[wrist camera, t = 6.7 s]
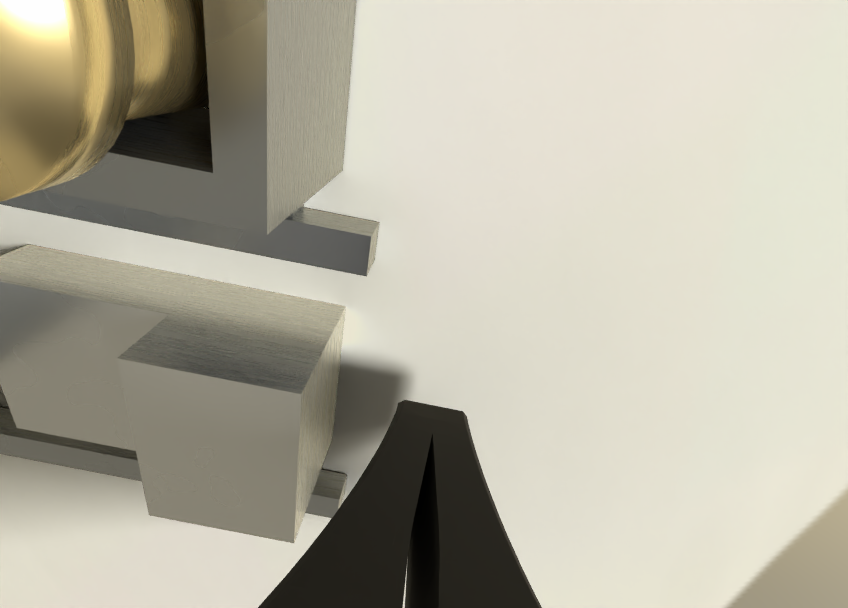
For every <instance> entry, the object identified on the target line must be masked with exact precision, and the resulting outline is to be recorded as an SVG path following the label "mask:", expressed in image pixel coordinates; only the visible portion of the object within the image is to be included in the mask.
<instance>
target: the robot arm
mask: <svg viewBox="0 0 848 608" xmlns="http://www.w3.org/2000/svg"><path fill="white" fill-rule="evenodd" d="M407 558H408V560H407ZM406 568H407V579H406V598H405V608H542V607H541V605H540V603H539V601H538V599H537V597H536V596H535V594H534V592H533V589H532V587H531V585H530V583H529V581H528V579H527V577H526V575H525V573H524V571H523V569H522V567H521V565H520V563H519V560H518V558H517V556H516V554H515V551H514V549H513V547H512V545H511V542H510V540H509V538H508V536H507V533H506V531H505V529H504V526H503V524H502V522H501V519H500V517H499V514H498V512H497V509H496V507H495V504H494V501H493V499H492V496H491V494H490V491H489V488H488V486H487V483H486V480H485V477H484V475H483V472H482V469H481V466H480V463H479V460H478V457H477V454H476V450H475V447H474V444H473V440H472V437H471V433H470V429H469V425H468V420H467V416H466V415H465V414H464V412H463V411H458V410H453V409H448V408H443V407H438V406H433V405H428V404H423V403H418V402H413V401H408V400H404V401H402V402H400V403H398V406H397V410H396V413H395V415H394V418H393V420H392V423H391V425H390V427H389V429H388V431H387V433H386V435H385V437H384V439H383V441H382V442H381V444H380V446H379V448H378V450H377V451H376V453H375V455H374V456H373V458H372V460H371V461H370V463H369V464H368V466H367V468H366V469H365V471H364V473H363V474H362V476H361V477H360V479H359V481H358V482H357V484H356V485H355V487H354V488H353V489H352V491H351V492H350V494H349V495H348V496H347V498H346V499H345V501H344V502H343V503H342V505H341V506H340V508H339V509H338V511H337V512H336V513H335V515H334V516H333V518H332V519H331V520H330V522H329V523H328V524H327V526H326V527H325V528H324V530H323V531H322V532H321V533H320V535H319V536H318V537H317V539H316V540H315V541H314V542H313V544H312V545H311V546H310V548H309V549H308V550H307V551H306V552H305V554H304V555H303V556H302V557H301V559H300V560H299V561H298V562H297V563H296V565H295V566H294V567H293V568H292V569H291V571H290V572H289V573H288V574H287V575H286V577H285V578H284V579H283V580H282V581H281V582H280V583H279V584H278V586H277V587H276V588H275V589H274V590H273V591H272V592H271V594H270V595H269V596H268V597H267V598H266V599H265V600H264V602H263V603H262V604H261V605H260V606H259V607H258V608H402V606H403V596H404V587H405V577H406Z"/></svg>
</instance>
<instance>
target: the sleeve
mask: <svg viewBox="0 0 848 608" xmlns="http://www.w3.org/2000/svg"><path fill="white" fill-rule="evenodd" d="M0 204H2V205H7V206H12V207H17V208H22V209H27V210H32V211H37V212H42V213H48V214H53V215H58V216H63V217H68V218H73V219H78V220H83V221H88V222H93V223H98V224H103V225H108V226H114V227H119V228H124V229H129V230H134V231H139V232H144V233H149V234H154V235H159V236H164V237H169V238H175V239H180V240H185V241H190V242H195V243H200V244H205V245H210V246H215V247H220V248H225V249H230V250H236V251H241V252H246V253H251V254H256V255H261V256H266V257H271V258H276V259H281V260H286V261H291V262H296V263H302V264H307V265H312V266H317V267H322V268H327V269H332V270H337V271H342V272H347V273H352V274H357V275H363V276H367V274H368V272H369V270H370V268H371V266H372V264H373V262H374V260H375V252H376V245H377V237H378V229H379V222H375V221H370V220H365V219H360V218H355V217H350V216H345V215H339V214H334V213H329V212H324V211H319V210H314V209H309V208H304V207H303V208H302V209H301V210H300V211H299V212H298V213H297V214H295V215H294V216H293V217H291V216H289V217H287V218H286V219H285V220H284V221H283V222H282V223H280V224H279V225H278V226H277V227H276V228H275V229H273V230H272V231H271V232H270V233H269V234H268V235H265V234H260V233H255V232H250V231H245V230H240V229H235V228H230V227H225V226H220V225H214V224H209V223H204V222H199V221H194V220H189V219H184V218H179V217H174V216H169V215H164V214H159V213H154V212H148V211H143V210H138V209H133V208H128V207H123V206H118V205H113V204H108V203H103V202H98V201H93V200H88V199H82V198H77V197H72V196H67V195H62V194H57V193H52V192H47V191H42V190H38V191H35V192H31V193H28V194H25V195H21V196H18V197H15V198H11V199H8V200H4V201H1V202H0ZM0 454H5V455H10V456H15V457H20V458H25V459H30V460H35V461H41V462H46V463H51V464H56V465H61V466H66V467H72V468H77V469H82V470H87V471H92V472H97V473H102V474H108V475H113V476H118V477H123V478H128V479H133V480H138V481H142V478H141V473H140V468H139V464H138V459H137V454H136V451H133V450H128V449H123V448H118V447H113V446H107V445H102V444H97V443H92V442H87V441H82V440H77V439H71V438H66V437H61V436H56V435H51V434H46V433H41V432H35V431H30V430H25V429H20V428H17V427H16V424H15V422H14V419H13V417H12V414H11V411H10V409H7V408H2V407H0ZM346 477H347V475H346V474H341V473H336V472H331V471H326V470H321V471H320V473H319V476H318V479H317V481H316V484H315V487H314V490H313V492H312V495H311V498H310V501H309V503H308V506H307V509H306V512H305V513H308V514H314V515H319V516H324V517H329V518H333V516H334V515H335V513H336V512H337V511H338V509H339V508H340V506H341V503H342V500H343V497H344V492H345V485H346Z"/></svg>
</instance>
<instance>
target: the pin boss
mask: <svg viewBox="0 0 848 608" xmlns="http://www.w3.org/2000/svg"><path fill="white" fill-rule="evenodd" d="M203 10H204V27H205V44H206V61H207V78H208V95H209V110H208V109H203V108H196V109H190V110H184V111H178V112H172V113H166V114H160V115H154V116H148V117H143V118H137V119H131V120H125V123H124V126H123V128H122V130H121V132H120V134H119V136H118V138H117V139H116V141H115V143H114V145H113V146H112V148H111V149H110V150H109V151H108V152H107V154H106V155H105V156H104V157H103V159H102V160H101V161H99V162H98V163H97V164H96V165H95V166H94V167H92V168H91V169H90V170H89V171H87V172H85V173H84V174H82V175H80V176H78V177H76V178H75V179H73V180H70V181H67V182H64V183H61V184H58V185H55V186H52V187H48V188H45V189H41V190H42V191H47V192H52V193H57V194H62V195H67V196H72V197H77V198H82V199H88V200H93V201H98V202H103V203H108V204H113V205H118V206H123V207H128V208H133V209H138V210H143V211H148V212H154V213H159V214H164V215H169V216H174V217H179V218H184V219H189V220H194V221H199V222H204V223H209V224H214V225H220V226H225V227H230V228H235V229H240V230H245V231H250V232H255V233H260V234H265V235H268V234H269V233H270V232H271V231H272V230H273V229H275V228H276V227H277V226H278V225H279V224H280V223H282V222H283V221H284V220H285V219H286V218H287V217H289V216H291V217H293V216H294V215H295V214H297V213H298V212H299V211H300V210H301V209H302V208H303V207H304V203H305V202H306V201H307V200H309V199H310V198H311V197H312V196H313V195H314V194H316V193H317V192H318V191H319V190H320V189H321V188H323V187H324V186H325V185H326V184H327V183H328V182H330V181H331V180H332V179H333V178H334V177H335V176H337V175H338V174H339V173H340V172H341V171H342V170H343V158H344V146H345V134H346V122H347V109H348V97H349V85H350V73H351V61H352V48H353V36H354V24H355V12H356V0H203Z"/></svg>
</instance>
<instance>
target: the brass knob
mask: <svg viewBox="0 0 848 608" xmlns="http://www.w3.org/2000/svg"><path fill="white" fill-rule="evenodd" d="M208 106H209V95H208V78H207V61H206V44H205V27H204V10H203V0H0V202H1V201H4V200H8V199H11V198H15V197H18V196H21V195H25V194H28V193H31V192H35V191H38V190H41V189H45V188H48V187H52V186H55V185H58V184H61V183H64V182H67V181H70V180H73V179H75V178H76V177H78V176H80V175H82V174H84V173H85V172H87V171H89V170H90V169H91V168H92V167H94V166H95V165H96V164H97V163H98V162H99V161H101V160H102V159H103V157H104V156H105V155H106V154H107V152H108V151H109V150H110V149H111V148H112V146H113V145H114V143H115V141H116V139H117V138H118V136H119V134H120V132H121V130H122V128H123V126H124V123H125V120H131V119H137V118H143V117H148V116H154V115H160V114H166V113H172V112H178V111H184V110H190V109H196V108H202V107H208Z"/></svg>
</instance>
